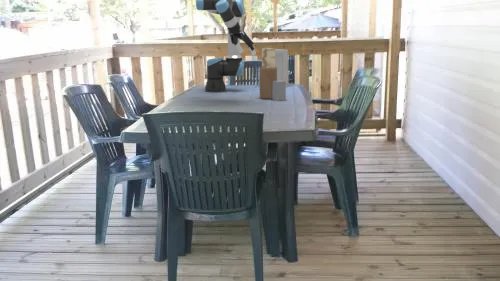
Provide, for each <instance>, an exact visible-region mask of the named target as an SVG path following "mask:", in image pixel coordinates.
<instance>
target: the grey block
mask: <svg viewBox="0 0 500 281" xmlns="http://www.w3.org/2000/svg"><path fill="white" fill-rule="evenodd" d="M286 91H287V87H286V81H281V80H278V81H273V86H272V99H271V100H273V101H277V102H283V101H286V96H287V92H286Z"/></svg>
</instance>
